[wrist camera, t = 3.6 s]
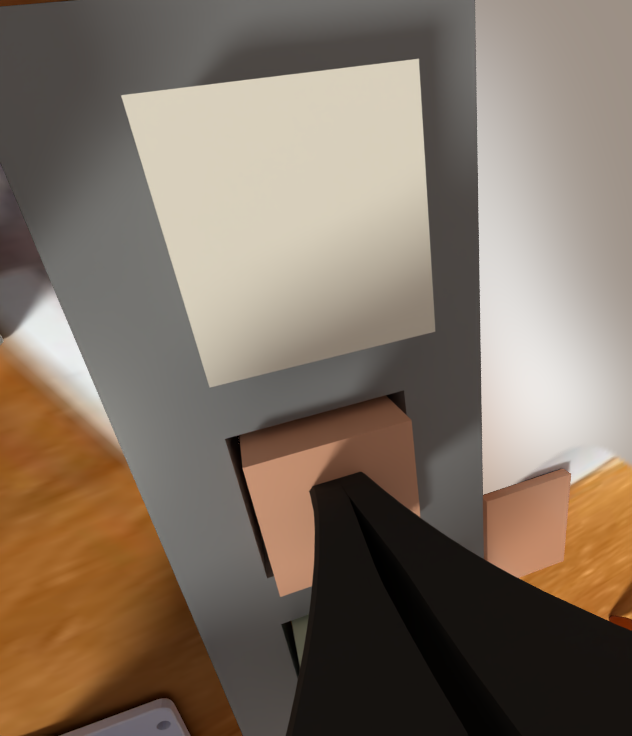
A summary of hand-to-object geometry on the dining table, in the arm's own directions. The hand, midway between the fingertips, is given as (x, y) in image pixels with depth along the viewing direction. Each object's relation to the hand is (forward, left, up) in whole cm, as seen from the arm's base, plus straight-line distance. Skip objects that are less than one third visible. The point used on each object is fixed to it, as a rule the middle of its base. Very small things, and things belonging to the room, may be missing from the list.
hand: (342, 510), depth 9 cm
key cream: (+7, 0, -2) cm, 7 cm away
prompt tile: (-8, -8, -4) cm, 12 cm away
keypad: (0, 0, -4) cm, 4 cm away
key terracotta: (0, 0, -4) cm, 4 cm away
